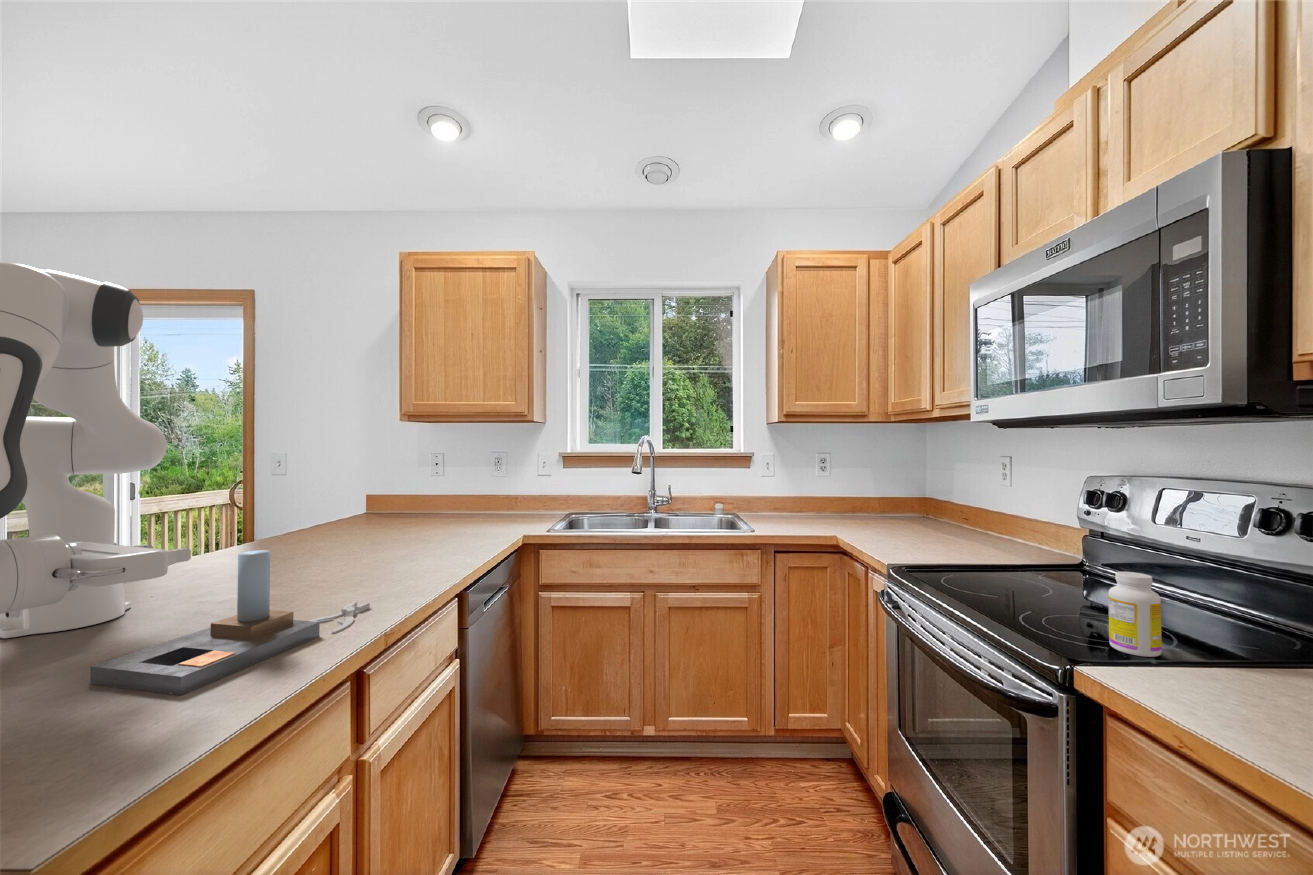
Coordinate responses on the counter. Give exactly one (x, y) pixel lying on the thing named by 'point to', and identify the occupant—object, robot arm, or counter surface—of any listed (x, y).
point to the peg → (253, 585)
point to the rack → (205, 654)
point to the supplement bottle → (1135, 615)
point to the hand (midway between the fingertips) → (168, 551)
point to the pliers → (345, 611)
